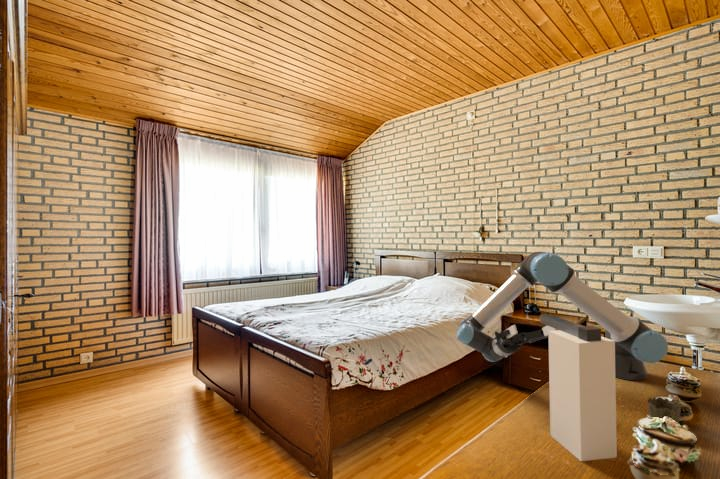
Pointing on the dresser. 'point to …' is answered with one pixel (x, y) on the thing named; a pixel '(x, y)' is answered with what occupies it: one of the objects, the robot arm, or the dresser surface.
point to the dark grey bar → (572, 328)
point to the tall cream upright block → (583, 395)
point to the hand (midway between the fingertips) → (535, 327)
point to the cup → (664, 408)
